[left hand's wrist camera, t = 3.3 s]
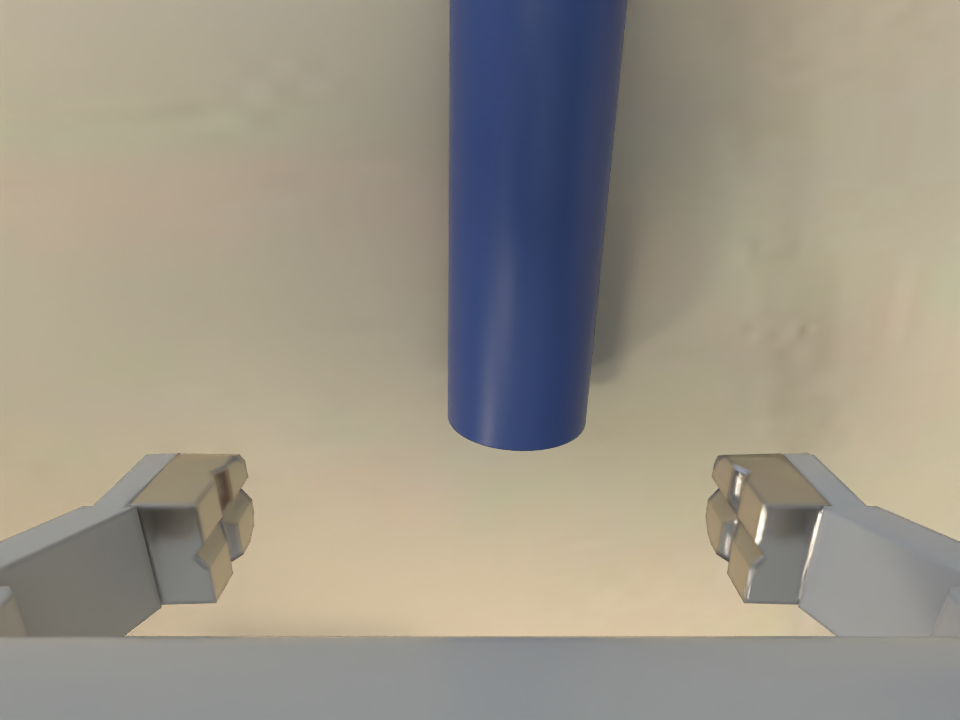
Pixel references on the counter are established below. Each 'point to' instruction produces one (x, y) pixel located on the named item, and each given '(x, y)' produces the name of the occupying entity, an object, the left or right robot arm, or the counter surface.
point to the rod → (527, 212)
